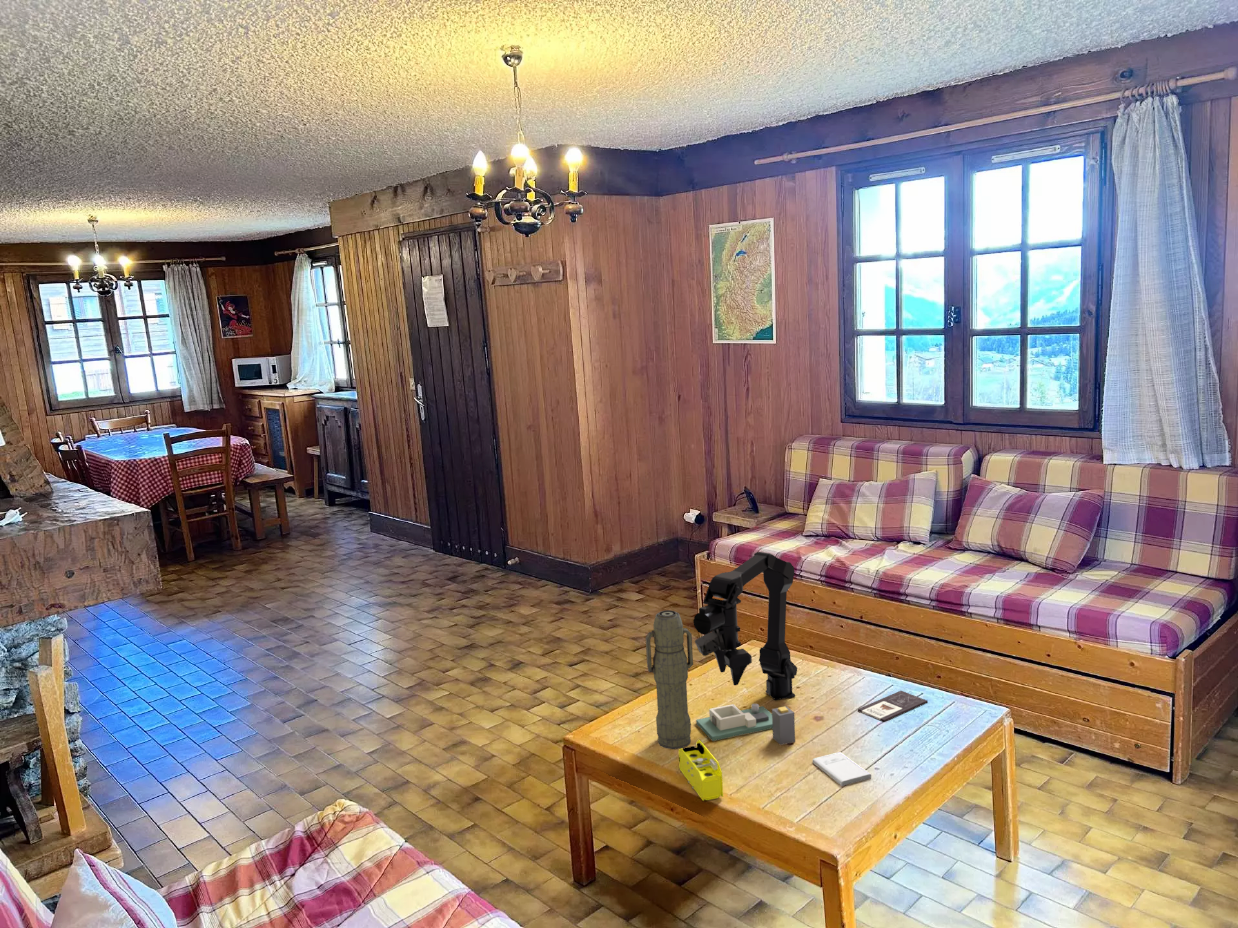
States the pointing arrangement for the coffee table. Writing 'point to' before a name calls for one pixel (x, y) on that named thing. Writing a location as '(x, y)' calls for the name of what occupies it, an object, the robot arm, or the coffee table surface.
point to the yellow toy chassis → (701, 771)
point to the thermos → (671, 678)
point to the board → (735, 721)
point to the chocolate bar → (892, 706)
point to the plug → (783, 725)
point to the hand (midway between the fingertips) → (729, 678)
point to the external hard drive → (841, 768)
